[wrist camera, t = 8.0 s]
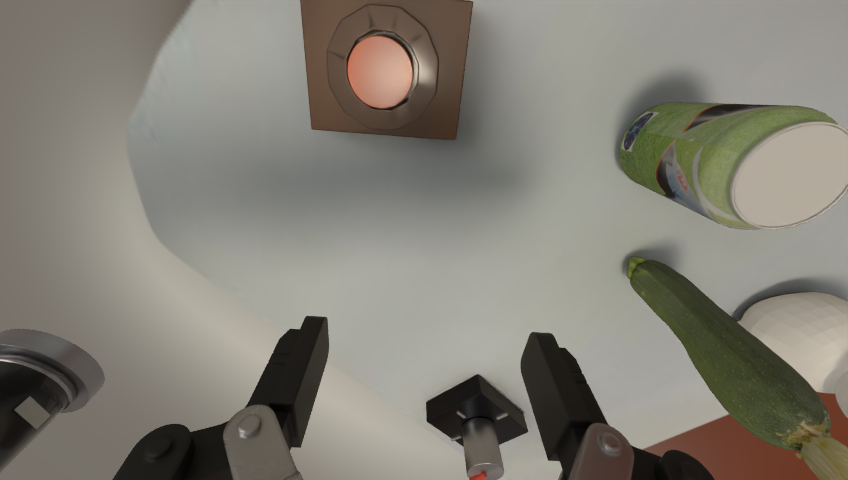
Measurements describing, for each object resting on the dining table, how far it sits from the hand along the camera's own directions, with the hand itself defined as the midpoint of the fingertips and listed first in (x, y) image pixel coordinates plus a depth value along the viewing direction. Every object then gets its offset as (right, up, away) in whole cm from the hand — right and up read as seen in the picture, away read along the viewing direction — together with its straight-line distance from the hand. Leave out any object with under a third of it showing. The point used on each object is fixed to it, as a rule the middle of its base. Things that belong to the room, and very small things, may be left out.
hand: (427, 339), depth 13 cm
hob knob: (+6, -19, +27) cm, 33 cm away
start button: (-3, +14, +7) cm, 16 cm away
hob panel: (+6, -17, +29) cm, 34 cm away
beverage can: (+17, +12, +12) cm, 24 cm away
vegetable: (+20, +1, +19) cm, 27 cm away
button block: (-3, +16, +10) cm, 19 cm away
